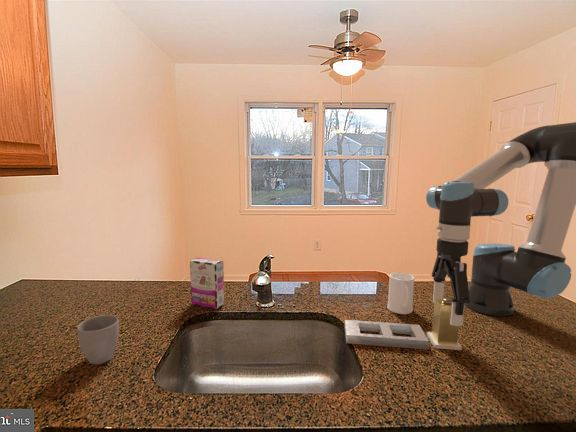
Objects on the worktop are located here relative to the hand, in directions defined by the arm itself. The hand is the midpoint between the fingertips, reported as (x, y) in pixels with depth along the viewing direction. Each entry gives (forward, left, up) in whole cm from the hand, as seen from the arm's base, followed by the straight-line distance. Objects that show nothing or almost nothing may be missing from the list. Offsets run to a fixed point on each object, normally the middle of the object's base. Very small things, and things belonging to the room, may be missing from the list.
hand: (446, 313), depth 86 cm
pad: (0, 0, -9) cm, 9 cm away
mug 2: (+8, -19, -9) cm, 22 cm away
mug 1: (+90, +19, -9) cm, 93 cm away
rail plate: (+16, 0, -9) cm, 19 cm away
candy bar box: (+76, -14, -9) cm, 77 cm away
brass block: (0, 0, -8) cm, 8 cm away
